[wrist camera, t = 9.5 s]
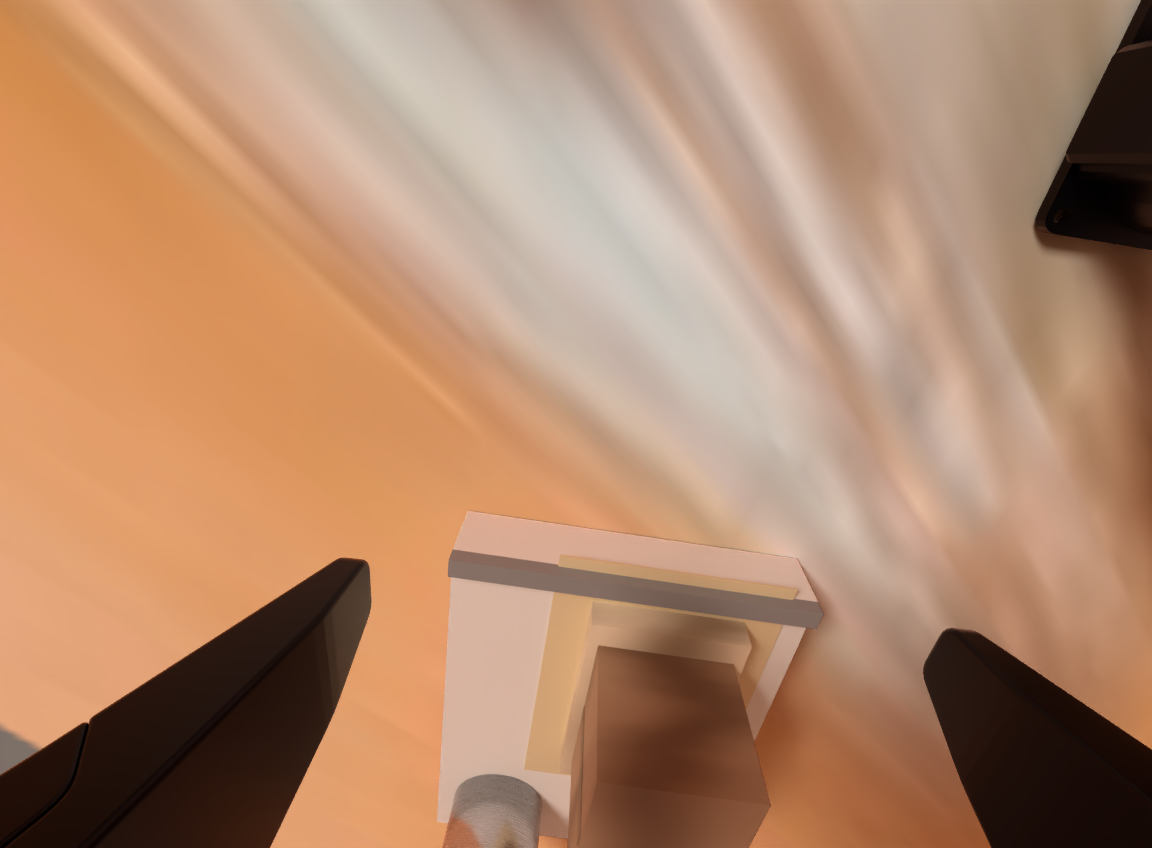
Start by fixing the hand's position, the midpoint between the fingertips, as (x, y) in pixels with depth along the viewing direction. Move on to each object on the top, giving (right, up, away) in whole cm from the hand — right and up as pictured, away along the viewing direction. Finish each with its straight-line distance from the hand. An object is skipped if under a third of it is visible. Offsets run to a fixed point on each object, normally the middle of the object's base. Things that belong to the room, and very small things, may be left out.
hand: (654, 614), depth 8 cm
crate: (+2, -8, +15) cm, 17 cm away
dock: (0, -10, +18) cm, 21 cm away
